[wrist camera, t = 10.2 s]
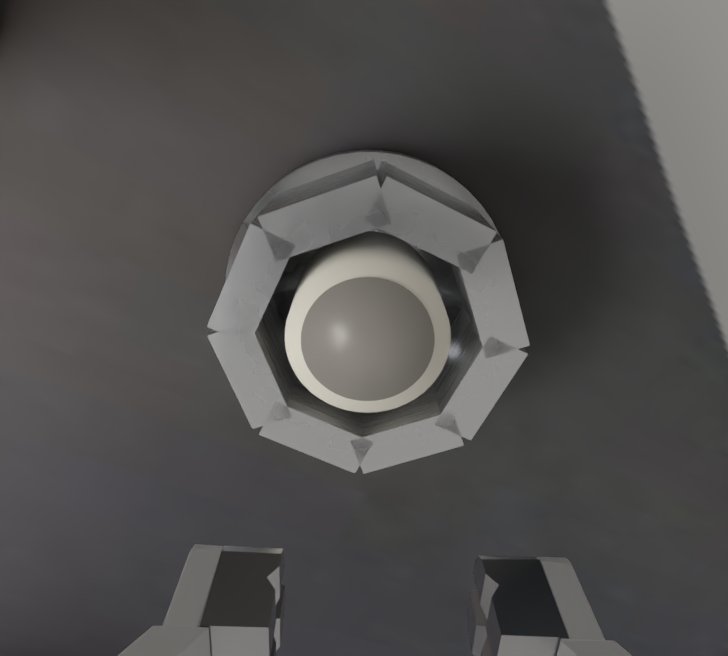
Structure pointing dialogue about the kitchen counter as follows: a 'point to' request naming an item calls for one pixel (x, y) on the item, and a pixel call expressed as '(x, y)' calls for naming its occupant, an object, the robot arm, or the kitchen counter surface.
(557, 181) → the kitchen counter surface
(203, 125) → the kitchen counter surface
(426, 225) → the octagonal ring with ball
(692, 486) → the kitchen counter surface
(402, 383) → the cap
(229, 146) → the kitchen counter surface
